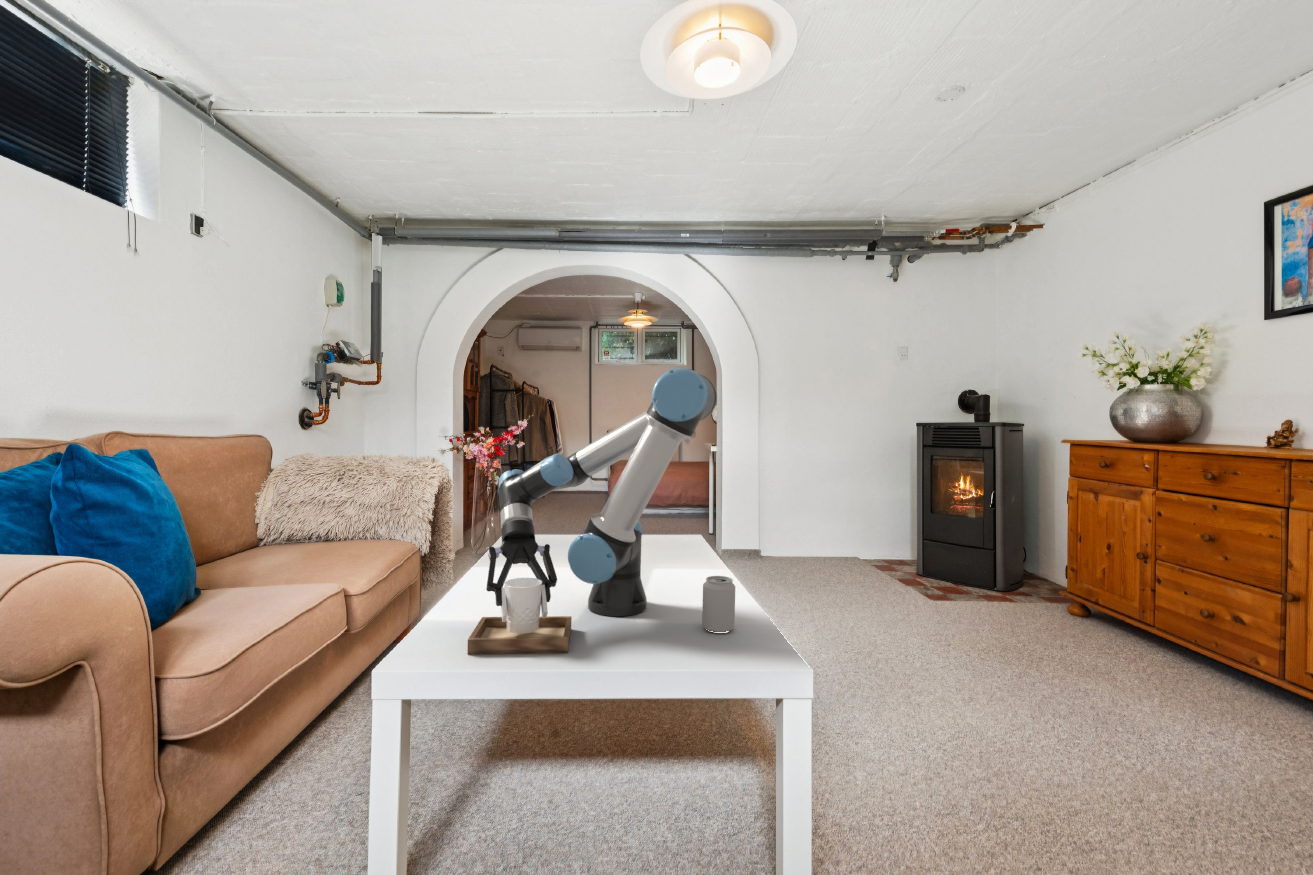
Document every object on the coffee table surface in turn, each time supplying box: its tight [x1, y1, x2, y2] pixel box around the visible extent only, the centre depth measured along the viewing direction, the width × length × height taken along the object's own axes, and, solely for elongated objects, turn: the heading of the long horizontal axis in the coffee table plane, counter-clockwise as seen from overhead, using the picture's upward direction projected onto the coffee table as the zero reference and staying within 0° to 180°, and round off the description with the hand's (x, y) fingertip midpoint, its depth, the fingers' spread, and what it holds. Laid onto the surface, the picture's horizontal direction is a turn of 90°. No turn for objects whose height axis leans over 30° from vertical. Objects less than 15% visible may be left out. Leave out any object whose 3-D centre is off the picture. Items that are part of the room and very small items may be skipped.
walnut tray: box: [467, 615, 573, 655], centre depth 123 cm, size 20×14×3 cm
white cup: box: [504, 577, 542, 634], centre depth 123 cm, size 8×8×10 cm
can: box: [701, 575, 736, 632], centre depth 133 cm, size 8×8×12 cm
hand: (525, 616), depth 120 cm, fingers closed on white cup, 8 cm apart
